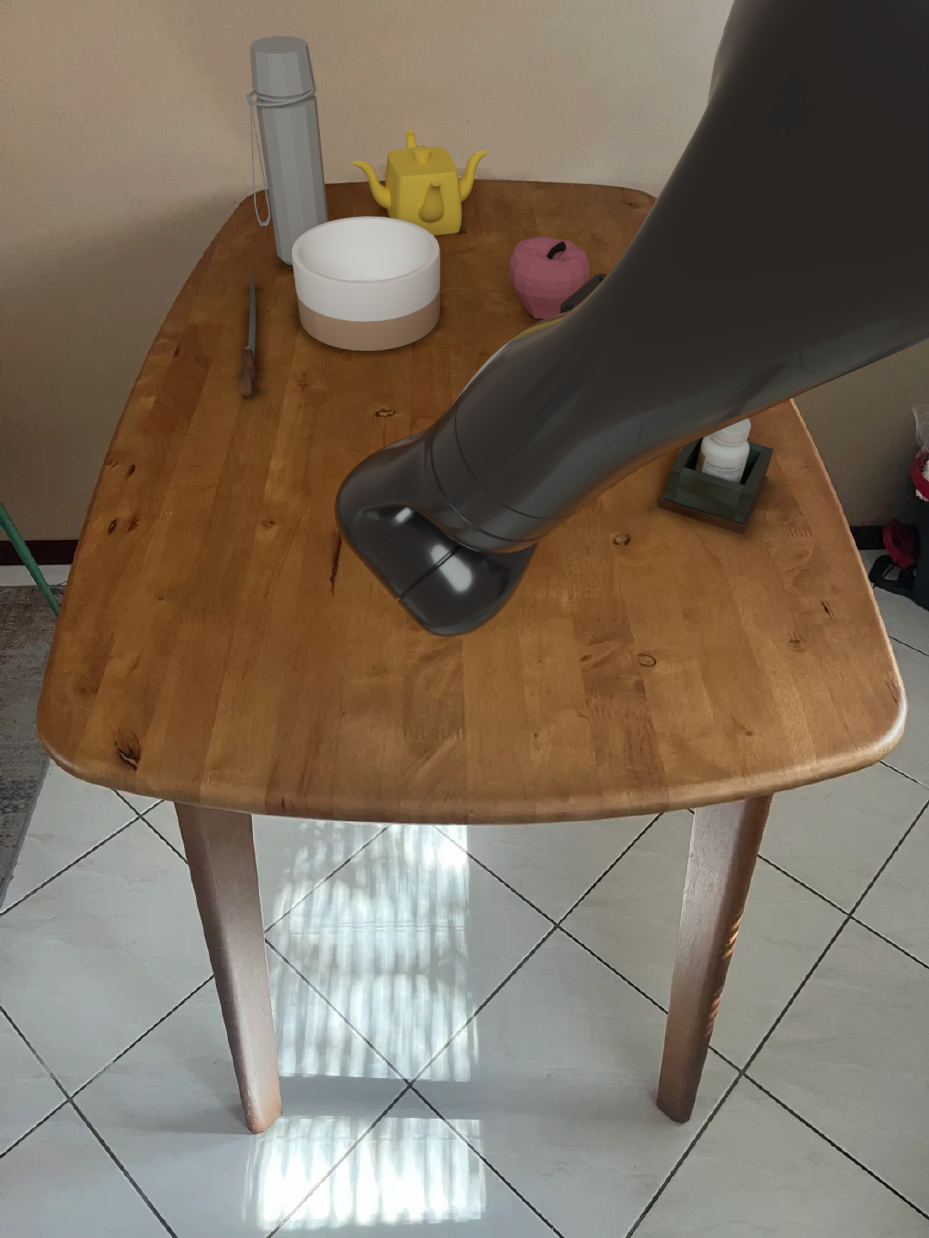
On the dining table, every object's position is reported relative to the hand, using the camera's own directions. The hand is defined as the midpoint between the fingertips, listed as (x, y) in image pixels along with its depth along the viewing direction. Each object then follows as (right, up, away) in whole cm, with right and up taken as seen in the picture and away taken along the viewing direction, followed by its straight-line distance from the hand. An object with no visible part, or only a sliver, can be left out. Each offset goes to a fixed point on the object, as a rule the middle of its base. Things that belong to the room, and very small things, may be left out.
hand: (716, 294), depth 67 cm
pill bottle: (+6, -11, +24) cm, 27 cm away
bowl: (-29, +14, +48) cm, 58 cm away
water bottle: (-40, +25, +58) cm, 74 cm away
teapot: (-24, +33, +66) cm, 78 cm away
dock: (+6, -11, +25) cm, 28 cm away
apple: (-8, +14, +48) cm, 51 cm away
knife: (-43, +9, +43) cm, 62 cm away
